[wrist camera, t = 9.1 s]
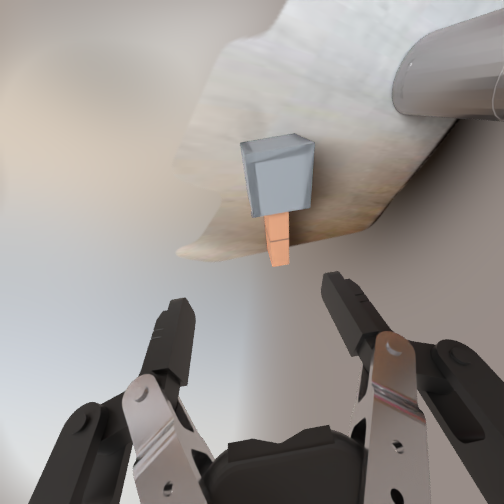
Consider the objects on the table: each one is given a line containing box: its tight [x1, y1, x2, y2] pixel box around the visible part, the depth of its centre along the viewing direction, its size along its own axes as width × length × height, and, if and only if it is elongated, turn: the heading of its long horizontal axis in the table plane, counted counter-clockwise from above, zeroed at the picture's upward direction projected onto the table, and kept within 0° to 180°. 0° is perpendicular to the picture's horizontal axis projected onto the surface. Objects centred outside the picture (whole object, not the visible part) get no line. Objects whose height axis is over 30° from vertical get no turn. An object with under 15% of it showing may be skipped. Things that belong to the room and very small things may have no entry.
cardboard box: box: [264, 212, 289, 267], centre depth 38 cm, size 4×15×6 cm, turn 7°
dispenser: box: [240, 134, 315, 218], centre depth 30 cm, size 9×10×9 cm
